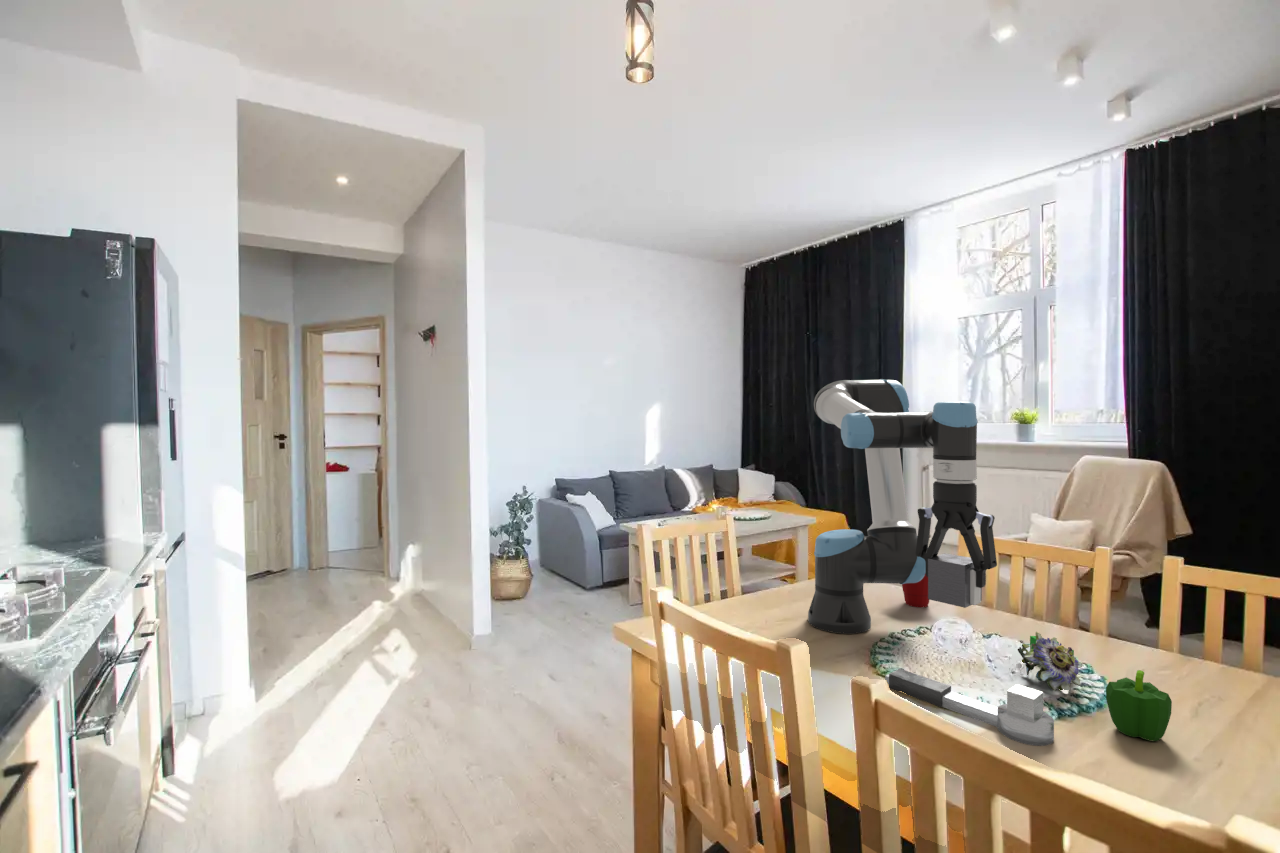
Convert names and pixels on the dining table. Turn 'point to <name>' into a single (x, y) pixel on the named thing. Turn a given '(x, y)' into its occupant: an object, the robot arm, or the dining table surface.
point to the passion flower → (1052, 662)
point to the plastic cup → (916, 593)
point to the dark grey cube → (950, 579)
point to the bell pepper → (1138, 707)
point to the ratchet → (985, 707)
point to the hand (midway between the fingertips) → (954, 598)
